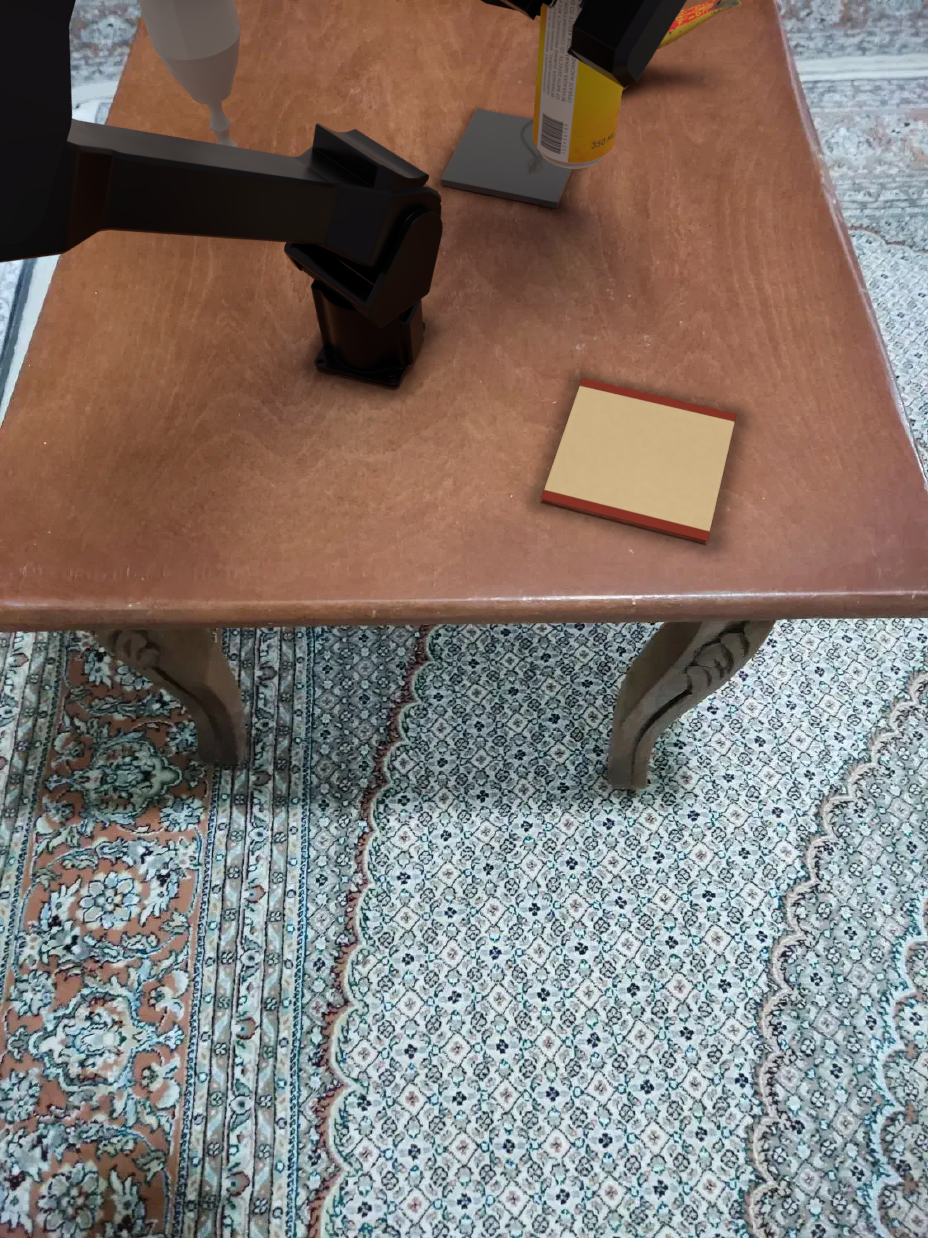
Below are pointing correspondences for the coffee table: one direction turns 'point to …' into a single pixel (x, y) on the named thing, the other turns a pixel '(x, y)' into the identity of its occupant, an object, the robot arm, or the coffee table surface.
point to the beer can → (571, 96)
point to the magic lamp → (695, 18)
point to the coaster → (504, 162)
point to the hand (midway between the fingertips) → (598, 31)
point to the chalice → (198, 50)
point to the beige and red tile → (641, 460)
